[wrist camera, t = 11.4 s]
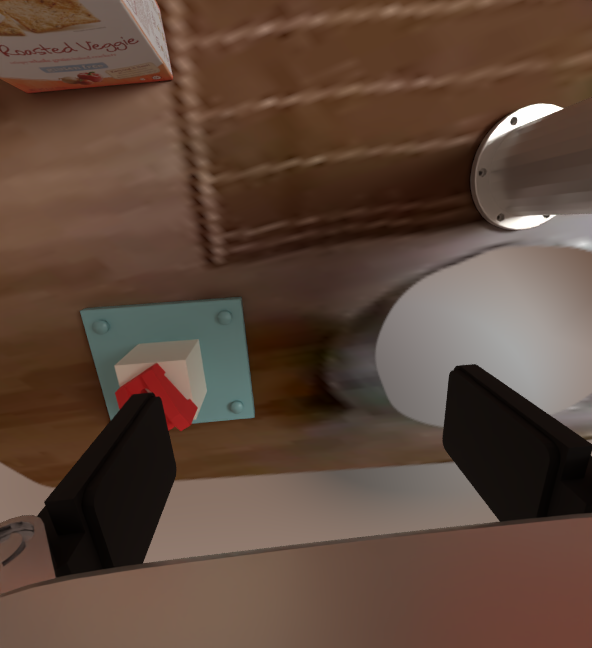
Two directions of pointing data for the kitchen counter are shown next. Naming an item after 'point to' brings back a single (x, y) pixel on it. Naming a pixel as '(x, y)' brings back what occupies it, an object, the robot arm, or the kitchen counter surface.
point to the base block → (168, 366)
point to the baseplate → (175, 325)
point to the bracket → (173, 401)
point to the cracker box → (81, 44)
